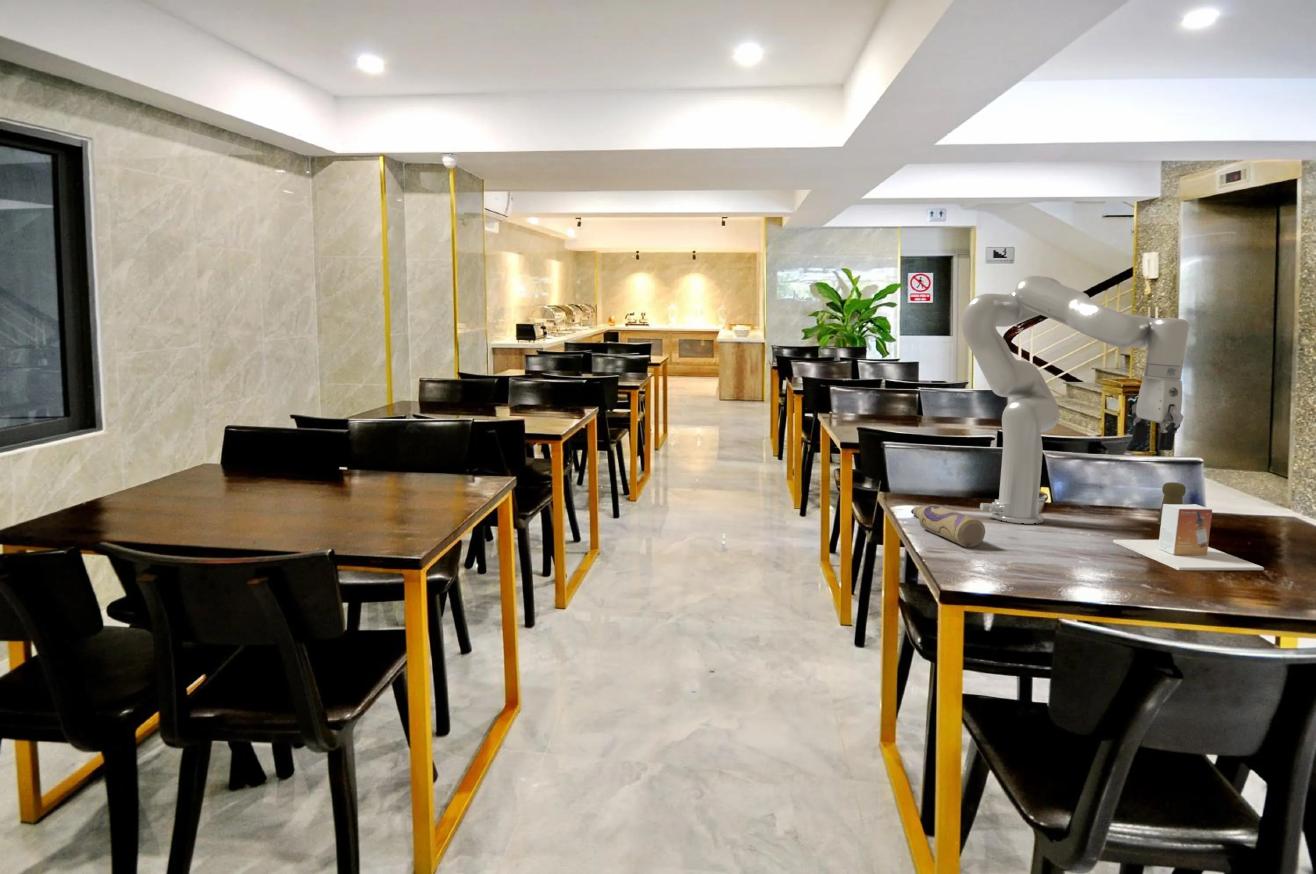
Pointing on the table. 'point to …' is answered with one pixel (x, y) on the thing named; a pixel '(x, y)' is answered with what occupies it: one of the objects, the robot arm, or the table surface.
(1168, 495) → the cork
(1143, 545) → the mat
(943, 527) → the decorative bottle
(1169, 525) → the small box
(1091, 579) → the table surface
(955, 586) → the table surface
